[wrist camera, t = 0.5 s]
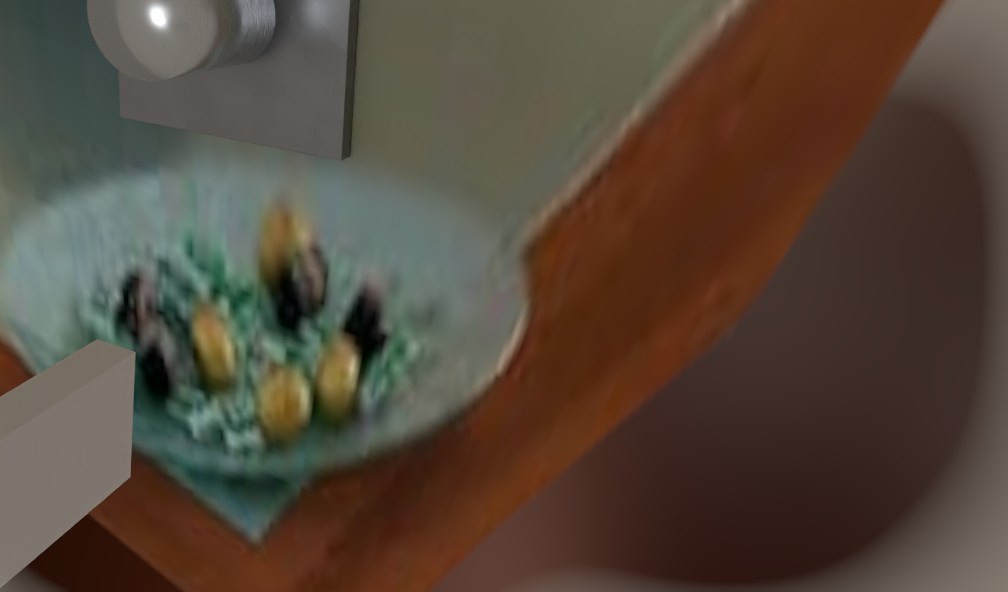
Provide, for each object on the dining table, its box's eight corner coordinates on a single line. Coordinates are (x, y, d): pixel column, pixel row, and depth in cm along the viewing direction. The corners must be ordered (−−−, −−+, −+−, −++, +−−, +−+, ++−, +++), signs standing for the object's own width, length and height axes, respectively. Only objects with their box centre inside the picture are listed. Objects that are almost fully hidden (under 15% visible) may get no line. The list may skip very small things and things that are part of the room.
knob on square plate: (122, -146, 39) (-6, -169, 32) (365, -114, 37) (283, -131, 30) (133, 114, 44) (23, 141, 37) (349, 156, 42) (275, 193, 35)
